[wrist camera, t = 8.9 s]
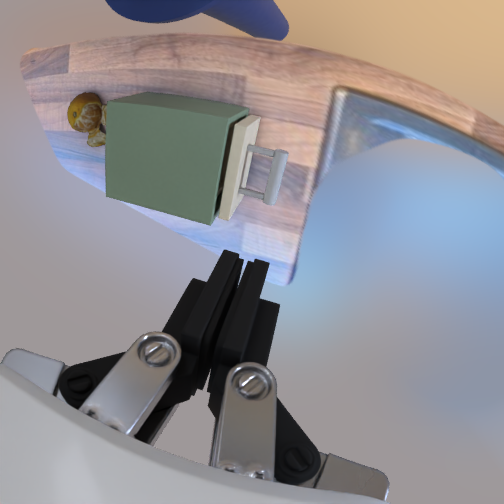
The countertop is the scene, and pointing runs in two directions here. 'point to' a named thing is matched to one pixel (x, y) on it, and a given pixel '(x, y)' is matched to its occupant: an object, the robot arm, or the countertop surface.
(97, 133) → the fruit
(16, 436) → the robot arm
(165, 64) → the countertop surface
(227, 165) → the drawer
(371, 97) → the countertop surface
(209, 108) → the cabinet
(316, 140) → the countertop surface
